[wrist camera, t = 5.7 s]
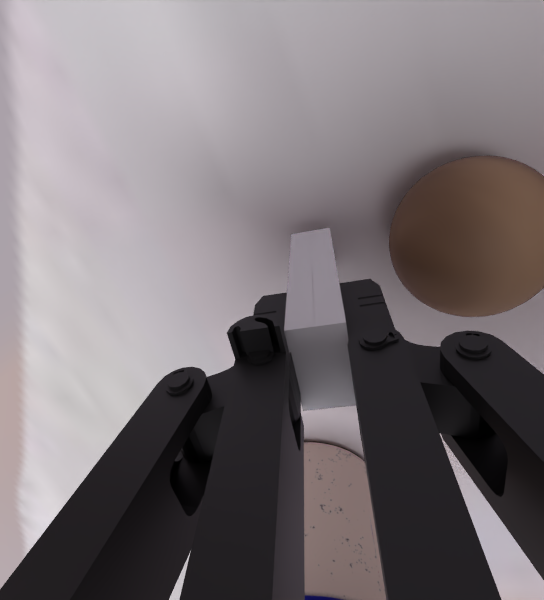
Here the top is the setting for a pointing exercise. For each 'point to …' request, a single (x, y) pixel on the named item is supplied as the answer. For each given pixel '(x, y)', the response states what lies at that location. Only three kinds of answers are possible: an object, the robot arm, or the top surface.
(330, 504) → the teacup with lid
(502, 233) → the walnut ball
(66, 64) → the top surface
